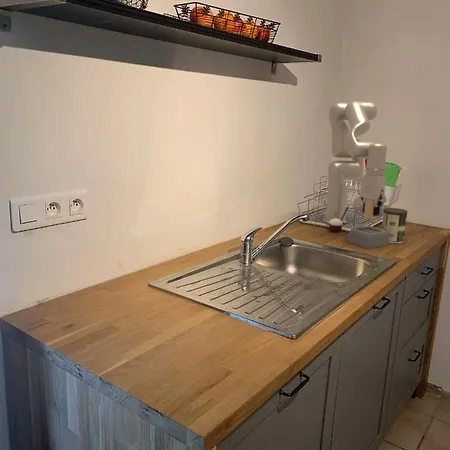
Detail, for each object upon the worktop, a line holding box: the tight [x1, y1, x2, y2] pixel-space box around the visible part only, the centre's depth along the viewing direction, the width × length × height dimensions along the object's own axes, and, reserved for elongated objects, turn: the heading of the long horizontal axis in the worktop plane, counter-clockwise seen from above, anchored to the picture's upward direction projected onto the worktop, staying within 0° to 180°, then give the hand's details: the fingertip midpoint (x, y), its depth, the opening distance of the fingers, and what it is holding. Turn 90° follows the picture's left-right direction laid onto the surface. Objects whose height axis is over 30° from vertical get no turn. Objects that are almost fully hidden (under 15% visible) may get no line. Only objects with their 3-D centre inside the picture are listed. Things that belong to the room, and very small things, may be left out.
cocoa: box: [325, 206, 349, 233], centre depth 237 cm, size 10×6×12 cm, turn 61°
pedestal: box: [347, 225, 389, 249], centre depth 219 cm, size 12×12×6 cm
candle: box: [363, 198, 378, 220], centre depth 216 cm, size 6×6×10 cm
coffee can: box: [381, 207, 409, 244], centre depth 224 cm, size 10×10×14 cm
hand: (370, 213), depth 216 cm, fingers closed on candle, 5 cm apart
